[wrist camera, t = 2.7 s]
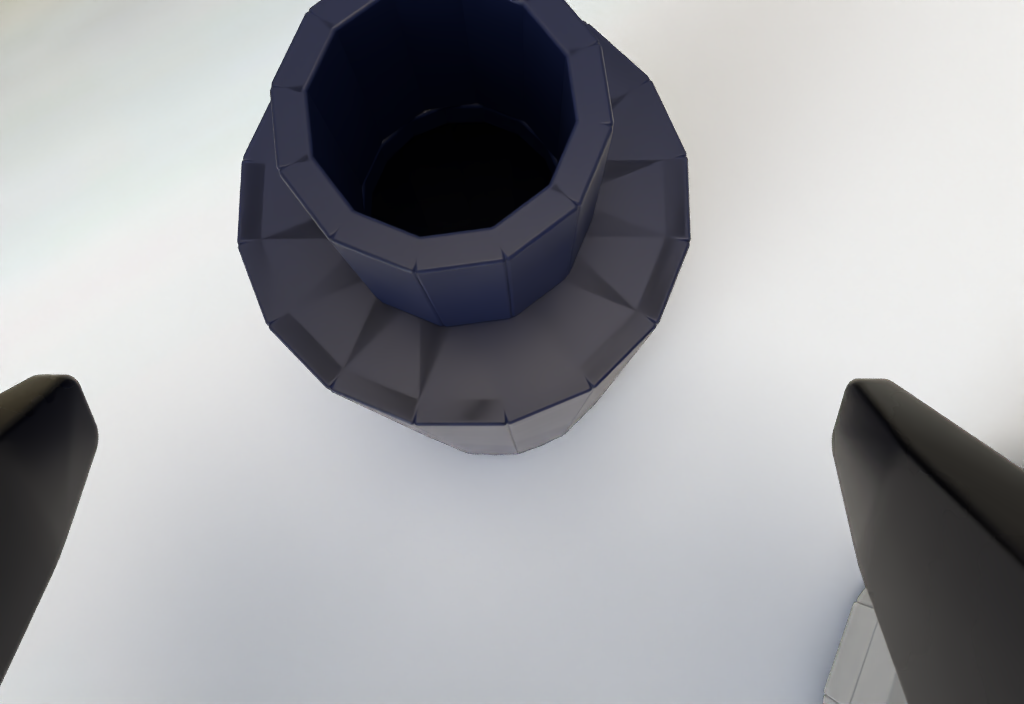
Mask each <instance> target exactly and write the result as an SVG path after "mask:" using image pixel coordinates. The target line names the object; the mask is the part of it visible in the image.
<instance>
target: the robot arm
mask: <svg viewBox="0 0 1024 704" xmlns="http://www.w3.org/2000/svg"><path fill="white" fill-rule="evenodd" d="M97 446H98V429H97V425H96V423H95V420H94V418H93V415H92V413H91V411H90V408H89V406H88V403H87V401H86V398H85V396H84V394H83V391H82V389H81V386H80V384H79V383H78V381H77V380H76V379H75V378H74V377H72V376H70V375H51V374H42V375H35V376H32V377H30V378H28V379H26V380H25V381H23V382H21V383H19V384H17V385H15V386H14V387H12V388H10V389H8V390H6V391H4V392H3V393H1V394H0V685H1V683H2V681H3V679H4V677H5V675H6V672H7V670H8V668H9V666H10V664H11V662H12V660H13V657H14V655H15V653H16V651H17V649H18V647H19V645H20V643H21V640H22V638H23V636H24V634H25V632H26V630H27V628H28V625H29V623H30V621H31V619H32V617H33V615H34V613H35V610H36V608H37V606H38V604H39V602H40V600H41V598H42V595H43V593H44V591H45V589H46V587H47V585H48V583H49V580H50V578H51V576H52V574H53V571H54V569H55V567H56V565H57V562H58V560H59V558H60V555H61V552H62V550H63V547H64V544H65V542H66V539H67V536H68V533H69V530H70V527H71V524H72V521H73V518H74V515H75V512H76V509H77V506H78V503H79V500H80V497H81V494H82V491H83V488H84V485H85V482H86V479H87V476H88V473H89V470H90V467H91V465H92V462H93V459H94V456H95V453H96V450H97ZM832 452H833V457H834V461H835V465H836V470H837V474H838V479H839V483H840V487H841V492H842V496H843V501H844V505H845V510H846V514H847V518H848V523H849V527H850V532H851V536H852V540H853V545H854V549H855V553H856V557H857V561H858V565H859V568H860V571H861V574H862V577H863V580H864V584H865V587H866V589H867V592H868V595H869V598H870V600H871V603H872V606H873V609H874V612H875V614H876V617H877V620H878V623H879V626H880V628H881V631H882V634H883V637H884V640H885V642H886V645H887V648H888V651H889V654H890V656H891V659H892V662H893V665H894V667H895V670H896V673H897V676H898V679H899V681H900V684H901V687H902V690H903V693H904V695H905V698H906V701H907V704H1024V470H1023V469H1021V468H1020V467H1018V466H1017V465H1015V464H1014V463H1012V462H1011V461H1009V460H1008V459H1007V458H1005V457H1004V456H1002V455H1001V454H999V453H998V452H996V451H995V450H993V449H992V448H990V447H989V446H987V445H986V444H984V443H983V442H981V441H980V440H978V439H977V438H975V437H974V436H972V435H971V434H969V433H968V432H966V431H965V430H963V429H962V428H961V427H959V426H958V425H956V424H955V423H953V422H952V421H950V420H949V419H947V418H946V417H944V416H943V415H941V414H940V413H938V412H937V411H935V410H934V409H932V408H931V407H929V406H928V405H926V404H925V403H923V402H922V401H920V400H919V399H917V398H916V397H915V396H913V395H912V394H910V393H909V392H907V391H906V390H904V389H903V388H901V387H900V386H898V385H897V384H895V383H894V382H892V381H890V380H888V379H854V380H852V381H850V382H849V384H848V385H847V387H846V389H845V392H844V396H843V399H842V402H841V406H840V409H839V412H838V416H837V419H836V423H835V426H834V429H833V434H832Z"/></svg>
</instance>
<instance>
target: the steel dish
mask: <svg viewBox="0 0 1024 704" xmlns="http://www.w3.org/2000/svg"><path fill="white" fill-rule="evenodd" d="M1023 470H1024V469H1023ZM824 693H825V695H824V697H823V704H907V701H906V698H905V695H904V693H903V690H902V687H901V684H900V681H899V679H898V676H897V673H896V670H895V667H894V665H893V662H892V659H891V656H890V654H889V651H888V648H887V645H886V642H885V640H884V637H883V634H882V631H881V628H880V626H879V623H878V620H877V617H876V614H875V612H874V609H873V606H872V603H871V600H870V598H869V595H868V592H867V589H866V588H865V589H864V590H863V592H862V593H861V594H860V596H859V597H858V598H857V602H854V603H853V606H852V609H851V612H850V615H849V618H848V621H847V624H846V627H845V630H844V633H843V636H842V639H841V642H840V645H839V648H838V650H837V653H836V656H835V659H834V662H833V665H832V668H831V671H830V674H829V677H828V680H827V683H826V686H825V689H824Z"/></svg>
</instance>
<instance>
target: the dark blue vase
mask: <svg viewBox="0 0 1024 704" xmlns="http://www.w3.org/2000/svg"><path fill="white" fill-rule="evenodd" d="M270 97H271V101H270V103H269V105H268V107H267V109H266V111H265V113H264V115H263V117H262V119H261V121H260V124H259V126H258V128H257V130H256V132H255V134H254V136H253V138H252V140H251V142H250V144H249V146H248V148H247V150H246V152H245V154H244V156H243V161H242V168H241V185H240V203H239V221H238V239H237V242H238V249H239V252H240V255H241V257H242V260H243V263H244V265H245V268H246V271H247V273H248V276H249V279H250V282H251V284H252V287H253V290H254V292H255V295H256V298H257V301H258V303H259V306H260V309H261V311H262V314H263V317H264V319H265V322H266V324H267V325H268V326H269V329H270V330H271V331H272V332H273V333H274V334H275V335H276V336H277V337H278V338H279V339H280V340H281V341H282V343H283V344H284V345H285V346H286V347H287V348H288V349H289V350H290V351H291V352H292V353H293V354H294V355H295V356H296V357H297V358H298V359H299V360H300V361H301V362H302V363H303V364H304V365H305V366H306V367H307V368H308V369H309V370H310V372H311V373H312V374H313V375H314V376H315V377H316V378H317V379H318V380H319V381H320V382H321V383H322V384H323V385H324V386H325V387H326V388H327V389H329V390H331V391H332V392H333V393H335V394H337V395H339V396H342V397H344V398H346V399H348V400H350V401H352V402H355V403H357V404H359V405H361V406H363V407H365V408H367V409H370V410H372V411H374V412H376V413H378V414H380V415H383V416H385V417H387V418H389V419H391V420H393V421H395V422H398V423H400V424H402V425H404V426H406V427H408V428H410V429H413V430H415V431H417V432H419V433H421V434H423V435H426V436H428V437H430V438H433V439H435V440H437V441H440V442H442V443H445V444H447V445H449V446H452V447H454V448H456V449H459V450H461V451H464V452H466V453H470V454H488V455H502V454H518V453H522V452H525V451H527V450H530V449H533V448H536V447H539V446H542V445H544V444H546V443H548V442H550V441H552V440H554V439H556V438H558V437H561V436H562V435H563V434H565V433H566V432H567V431H568V430H569V429H570V428H571V427H572V426H573V425H574V424H575V423H576V422H578V421H579V420H580V419H581V417H582V416H583V415H584V414H585V413H586V412H587V411H588V410H589V409H590V408H591V407H592V406H593V405H594V404H595V403H596V402H597V401H598V400H599V398H600V397H601V396H602V395H603V393H604V392H605V391H606V390H607V388H608V387H609V386H610V385H611V383H612V382H613V381H614V379H615V378H616V377H617V376H618V374H619V373H620V372H621V371H622V369H623V368H624V367H625V366H626V364H627V363H628V362H629V361H630V359H631V358H632V357H633V356H634V354H635V353H636V352H637V351H638V349H639V348H640V347H641V346H642V344H643V343H644V342H645V341H646V339H647V338H648V337H649V335H650V334H651V333H652V332H653V330H654V329H655V328H656V326H657V324H658V323H659V322H660V319H661V317H662V314H663V312H664V309H665V307H666V304H667V302H668V299H669V297H670V294H671V292H672V289H673V286H674V284H675V281H676V279H677V276H678V274H679V271H680V269H681V266H682V264H683V261H684V259H685V256H686V253H687V251H688V248H689V246H690V245H689V242H690V239H691V234H690V206H689V178H688V159H687V157H686V151H685V149H684V147H683V145H682V143H681V141H680V139H679V137H678V135H677V133H676V131H675V128H674V126H673V124H672V122H671V120H670V118H669V116H668V114H667V112H666V110H665V107H664V105H663V103H662V101H661V99H660V97H659V95H658V93H657V91H656V89H655V86H654V84H653V82H652V81H651V80H650V79H649V77H648V76H647V75H646V74H645V73H644V72H642V71H641V70H640V69H639V68H638V67H637V66H636V65H635V64H634V63H632V62H631V61H630V60H629V59H628V58H627V57H626V56H625V55H623V54H622V53H621V52H620V51H619V50H618V49H617V48H616V47H615V46H613V45H612V44H611V43H610V42H609V41H608V40H607V39H606V38H604V37H603V36H602V35H601V34H600V33H599V32H598V31H597V30H596V29H594V28H593V27H592V26H591V25H590V24H587V23H586V22H585V21H582V20H581V19H580V18H579V17H578V16H577V14H576V13H575V12H574V11H573V10H572V9H571V7H570V6H569V5H568V4H567V3H566V2H565V0H321V1H319V2H318V3H317V4H315V5H314V6H312V7H311V8H310V9H309V12H307V13H306V14H305V16H304V18H303V20H302V22H301V24H300V26H299V28H298V30H297V32H296V34H295V36H294V38H293V40H292V42H291V44H290V46H289V48H288V51H287V53H286V55H285V57H284V59H283V61H282V63H281V65H280V67H279V69H278V71H277V73H276V75H275V77H274V79H273V81H272V88H271V90H270Z"/></svg>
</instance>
